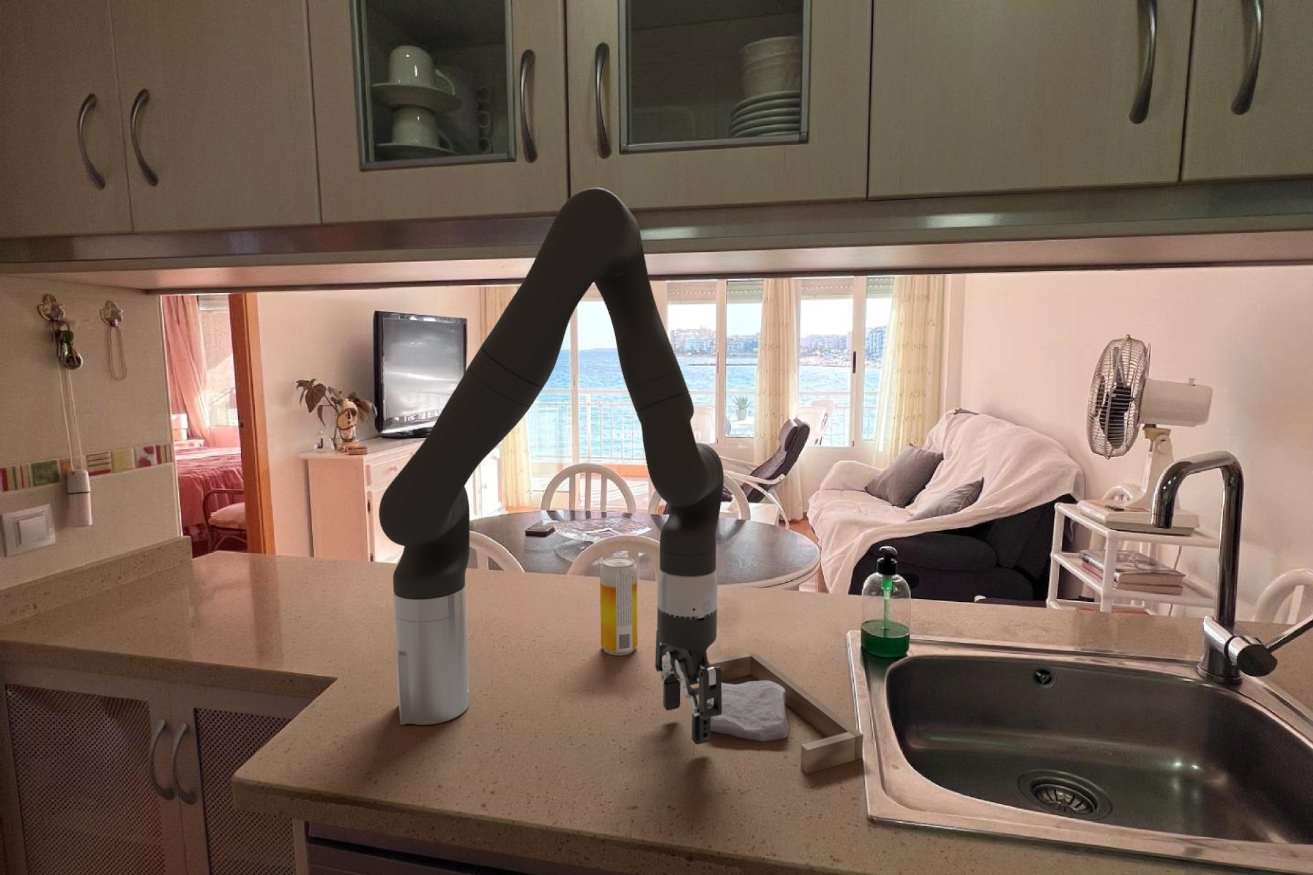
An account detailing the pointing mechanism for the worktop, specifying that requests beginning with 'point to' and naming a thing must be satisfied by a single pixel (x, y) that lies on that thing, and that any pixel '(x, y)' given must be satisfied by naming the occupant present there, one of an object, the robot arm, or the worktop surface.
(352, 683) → the worktop surface
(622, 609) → the beer can
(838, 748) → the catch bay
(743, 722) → the stone block
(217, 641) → the worktop surface
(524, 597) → the worktop surface
